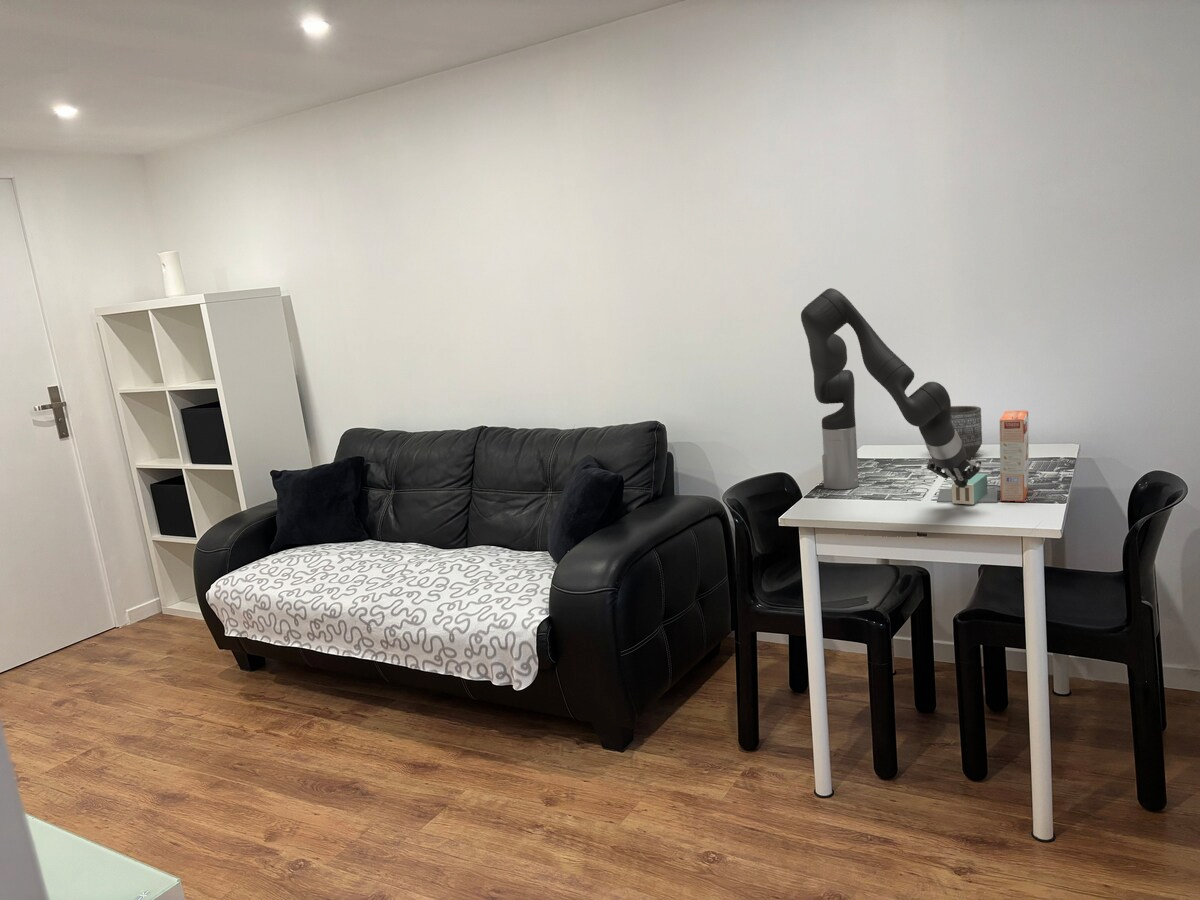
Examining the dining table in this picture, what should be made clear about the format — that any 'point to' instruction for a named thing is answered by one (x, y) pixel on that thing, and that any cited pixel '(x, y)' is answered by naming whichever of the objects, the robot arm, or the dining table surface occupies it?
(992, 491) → the grey mat
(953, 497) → the teal block
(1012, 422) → the cracker box
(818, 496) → the dining table surface
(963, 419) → the planter
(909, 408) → the robot arm
